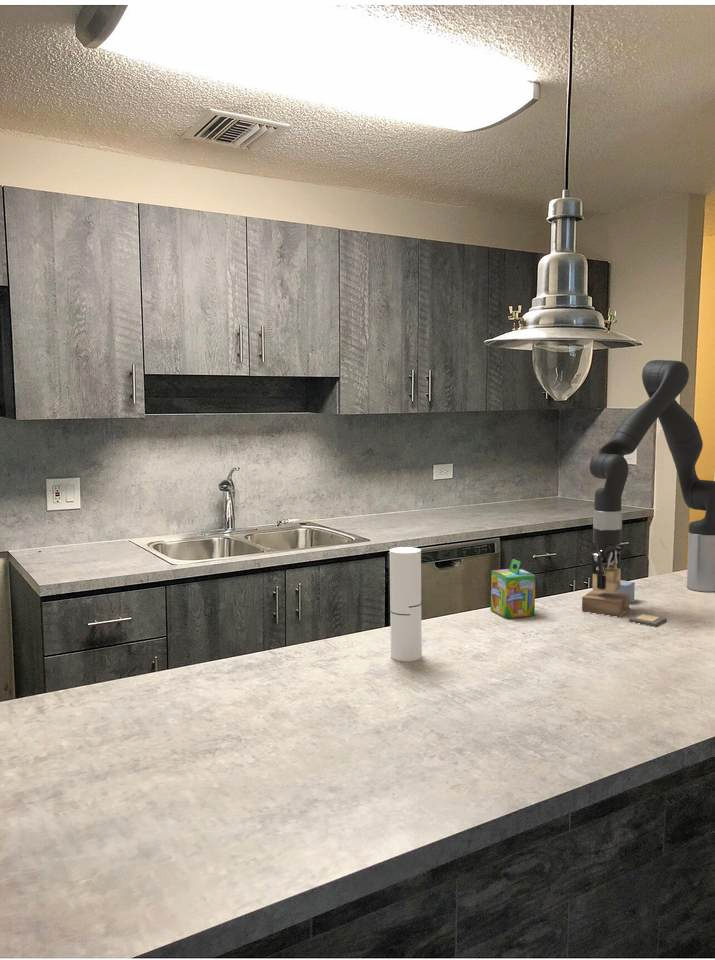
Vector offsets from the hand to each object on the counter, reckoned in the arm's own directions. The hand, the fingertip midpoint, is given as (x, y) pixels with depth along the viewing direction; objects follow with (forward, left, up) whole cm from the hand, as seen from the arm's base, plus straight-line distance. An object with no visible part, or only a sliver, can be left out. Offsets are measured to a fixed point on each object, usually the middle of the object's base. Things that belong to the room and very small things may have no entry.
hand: (606, 586), depth 211 cm
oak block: (0, 0, -1) cm, 1 cm away
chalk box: (+19, -18, -7) cm, 27 cm away
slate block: (-12, -1, -7) cm, 14 cm away
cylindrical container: (+65, -18, -7) cm, 68 cm away
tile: (+3, +13, -7) cm, 15 cm away
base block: (0, 0, -7) cm, 7 cm away
